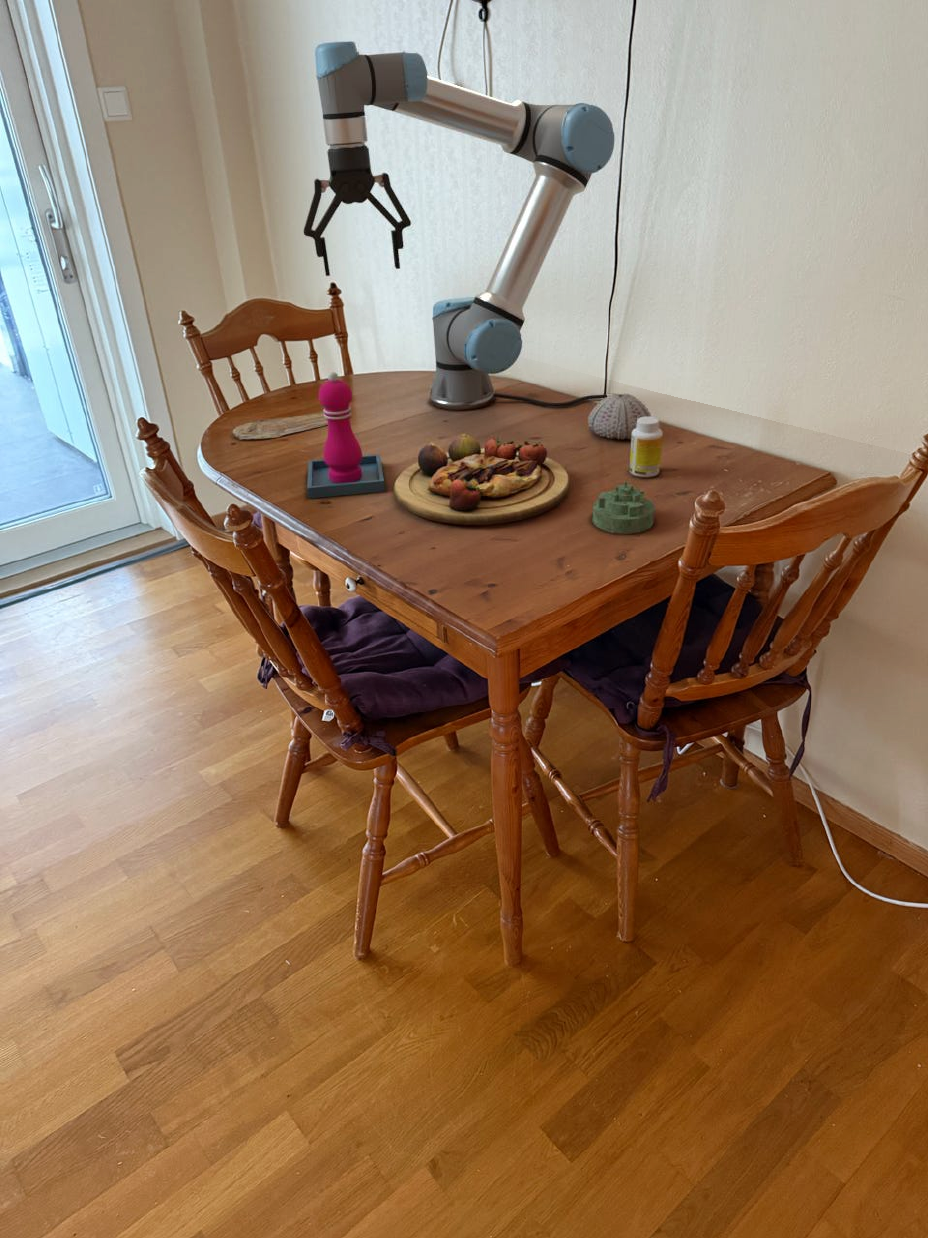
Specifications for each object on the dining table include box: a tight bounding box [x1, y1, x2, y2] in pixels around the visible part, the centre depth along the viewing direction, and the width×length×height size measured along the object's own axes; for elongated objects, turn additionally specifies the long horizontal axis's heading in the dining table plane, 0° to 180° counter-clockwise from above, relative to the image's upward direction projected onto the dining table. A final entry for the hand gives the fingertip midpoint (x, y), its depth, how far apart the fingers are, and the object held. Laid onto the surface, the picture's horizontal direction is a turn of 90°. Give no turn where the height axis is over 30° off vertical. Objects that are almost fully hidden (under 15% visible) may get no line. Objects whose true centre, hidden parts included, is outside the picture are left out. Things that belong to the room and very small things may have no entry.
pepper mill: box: [318, 371, 363, 484], centre depth 154 cm, size 7×7×20 cm
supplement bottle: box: [629, 416, 664, 478], centre depth 154 cm, size 6×6×10 cm
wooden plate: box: [393, 433, 571, 526], centre depth 150 cm, size 32×32×8 cm
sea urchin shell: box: [587, 393, 652, 440], centre depth 173 cm, size 13×14×8 cm
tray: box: [306, 453, 386, 500], centre depth 159 cm, size 14×14×2 cm
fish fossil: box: [232, 412, 328, 440], centre depth 187 cm, size 26×10×1 cm, turn 123°
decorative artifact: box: [592, 480, 656, 535], centre depth 137 cm, size 10×7×10 cm
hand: (362, 271), depth 162 cm, fingers open, 13 cm apart
